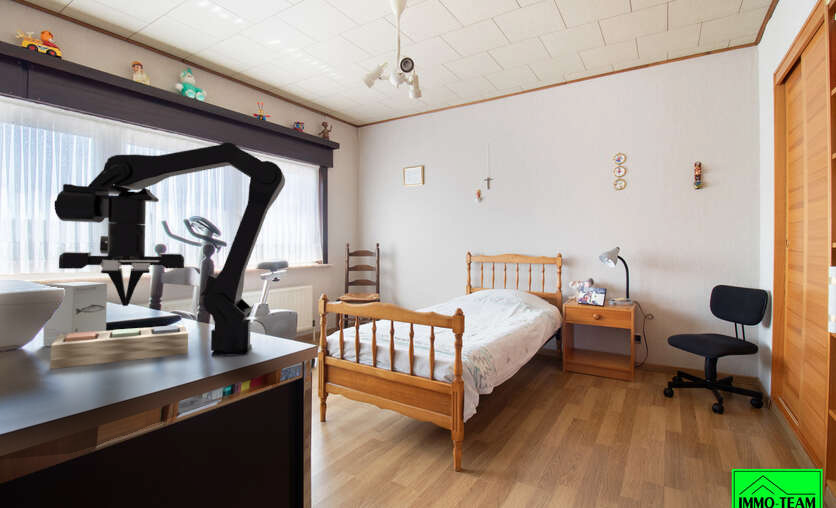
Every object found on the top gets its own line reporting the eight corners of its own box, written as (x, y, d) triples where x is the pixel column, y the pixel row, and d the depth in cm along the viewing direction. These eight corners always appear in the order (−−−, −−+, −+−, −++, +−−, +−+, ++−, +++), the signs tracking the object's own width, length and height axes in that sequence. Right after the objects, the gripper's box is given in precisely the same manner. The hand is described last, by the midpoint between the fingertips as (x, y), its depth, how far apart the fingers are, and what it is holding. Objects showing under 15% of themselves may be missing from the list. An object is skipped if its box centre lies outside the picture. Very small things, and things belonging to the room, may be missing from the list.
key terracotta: (96, 344, 76) (96, 331, 76) (94, 349, 72) (94, 335, 72) (68, 346, 73) (68, 333, 73) (65, 352, 70) (65, 337, 70)
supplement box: (71, 349, 79) (72, 285, 79) (41, 346, 80) (42, 283, 80) (107, 340, 86) (108, 282, 86) (79, 338, 88) (80, 280, 87)
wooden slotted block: (183, 343, 86) (183, 324, 86) (187, 353, 79) (188, 333, 79) (59, 355, 75) (59, 334, 74) (51, 368, 67) (51, 345, 67)
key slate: (176, 337, 83) (176, 325, 83) (177, 341, 80) (178, 329, 80) (153, 339, 81) (153, 327, 81) (153, 343, 77) (154, 330, 77)
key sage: (138, 340, 79) (138, 328, 79) (138, 345, 76) (138, 332, 76) (112, 342, 77) (113, 330, 77) (111, 347, 74) (112, 334, 74)
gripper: (180, 227, 88) (178, 297, 88) (68, 221, 77) (66, 302, 78) (185, 226, 79) (183, 305, 79) (59, 220, 68) (57, 311, 68)
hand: (125, 305), depth 76 cm, fingers closed
